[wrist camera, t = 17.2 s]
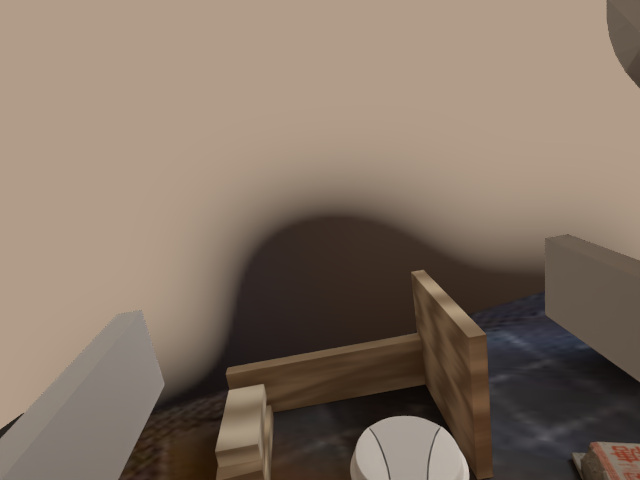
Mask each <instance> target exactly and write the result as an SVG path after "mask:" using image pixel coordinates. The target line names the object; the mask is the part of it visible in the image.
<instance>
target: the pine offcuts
mask: <svg viewBox="0 0 640 480" xmlns="http://www.w3.org/2000/svg"><path fill="white" fill-rule="evenodd" d="M266 400H267V396H266V392H265V387H264V384H260V385H255V386H250V387H244V388H239V389H233V390H229V393H228V397H227V402H226V406H225V410H224V415H223V419H222V423H221V428H220V432H219V436H218V441H217V445H216V449H215V454H216V458H217V461H218V468H217V475H216V480H270V477H271V459H272V440H273V421H274V417H273V412H272V408H271V405H268V406H266Z"/></svg>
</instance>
